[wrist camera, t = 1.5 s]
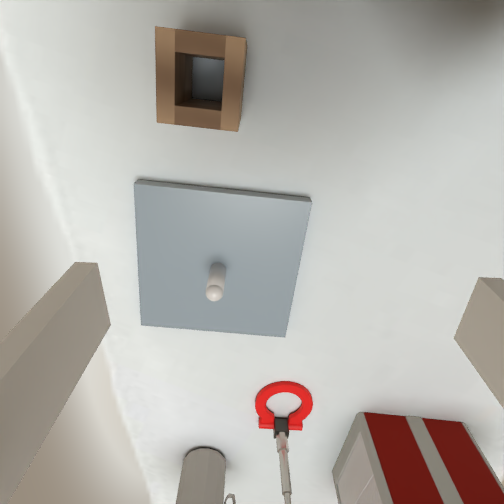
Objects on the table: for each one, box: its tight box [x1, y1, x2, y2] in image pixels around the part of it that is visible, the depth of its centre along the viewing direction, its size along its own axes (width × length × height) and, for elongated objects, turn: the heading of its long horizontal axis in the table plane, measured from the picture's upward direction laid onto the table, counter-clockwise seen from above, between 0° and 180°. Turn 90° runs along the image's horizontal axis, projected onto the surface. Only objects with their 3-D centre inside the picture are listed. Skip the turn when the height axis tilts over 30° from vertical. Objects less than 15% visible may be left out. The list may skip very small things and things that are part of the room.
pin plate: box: [134, 180, 312, 337], centre depth 37 cm, size 18×18×7 cm
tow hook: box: [255, 381, 313, 504], centre depth 46 cm, size 8×13×9 cm
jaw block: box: [155, 26, 247, 132], centre depth 28 cm, size 6×6×8 cm
